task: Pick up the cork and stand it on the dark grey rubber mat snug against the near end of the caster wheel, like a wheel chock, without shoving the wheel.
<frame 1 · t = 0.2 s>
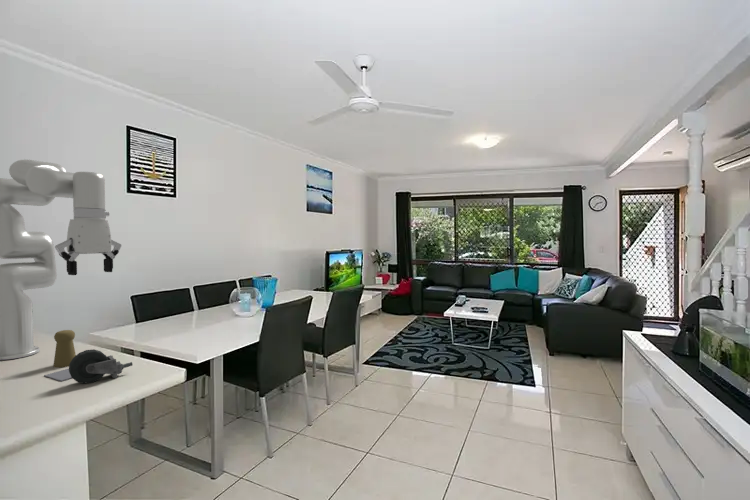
hand: (90, 273, 114), 31 cm above the kitchen counter, tool pointing down, fingers open, 9 cm apart
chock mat: (73, 372, 118), on the kitchen counter
cork: (65, 365, 125), on the kitchen counter
caster wheel: (102, 379, 114), on the kitchen counter
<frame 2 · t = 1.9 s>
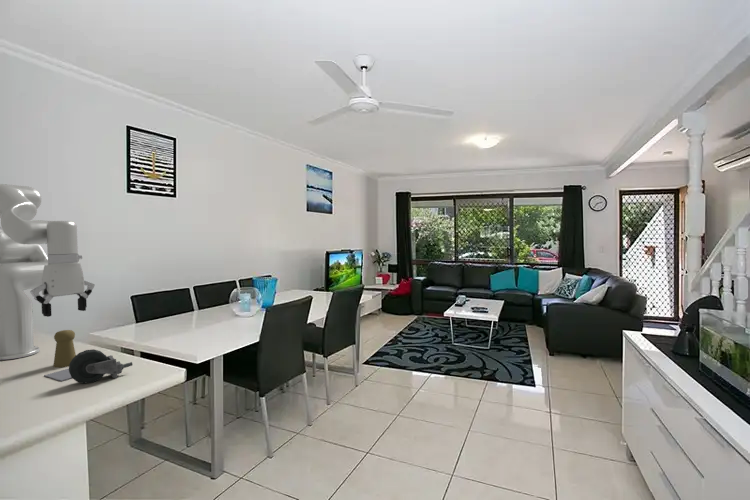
hand: (65, 313, 124), 17 cm above the kitchen counter, tool pointing down, fingers open, 9 cm apart
nothing on the kitchen counter moved.
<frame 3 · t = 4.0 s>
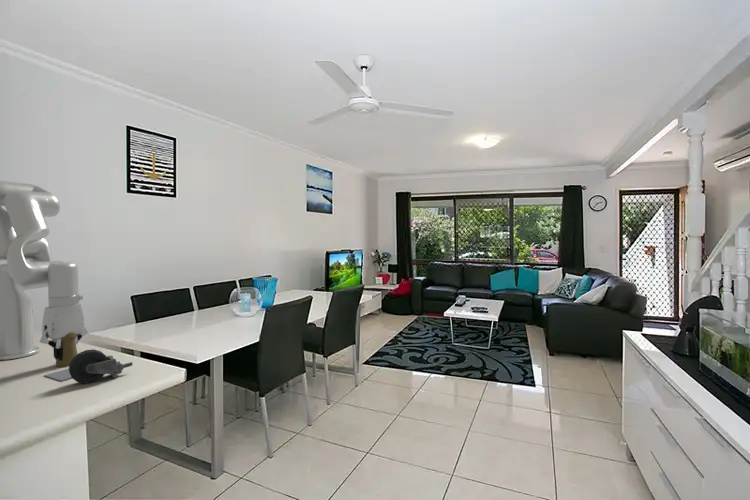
hand: (65, 357, 125), 2 cm above the kitchen counter, tool pointing down, fingers closed on cork, 2 cm apart
cork: (67, 364, 126), on the kitchen counter, touching gripper
everything else where it was.
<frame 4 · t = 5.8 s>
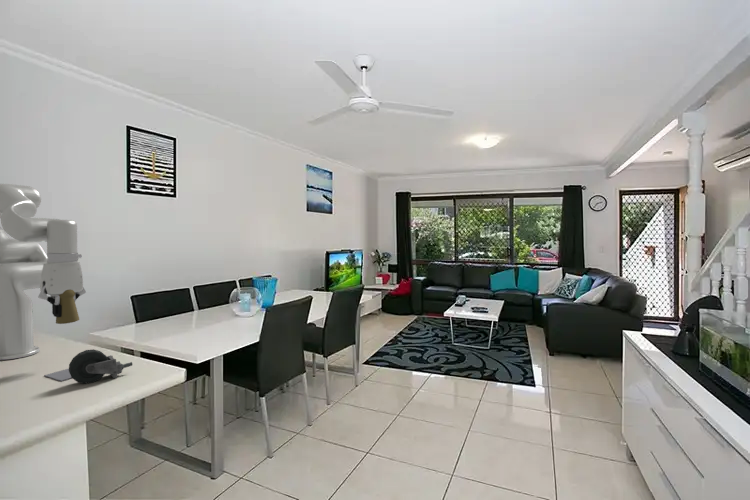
hand: (63, 315, 125), 16 cm above the kitchen counter, tool pointing down, fingers closed on cork, 2 cm apart
cork: (67, 321, 126), point 14 cm above the kitchen counter, touching gripper
everything else where it was.
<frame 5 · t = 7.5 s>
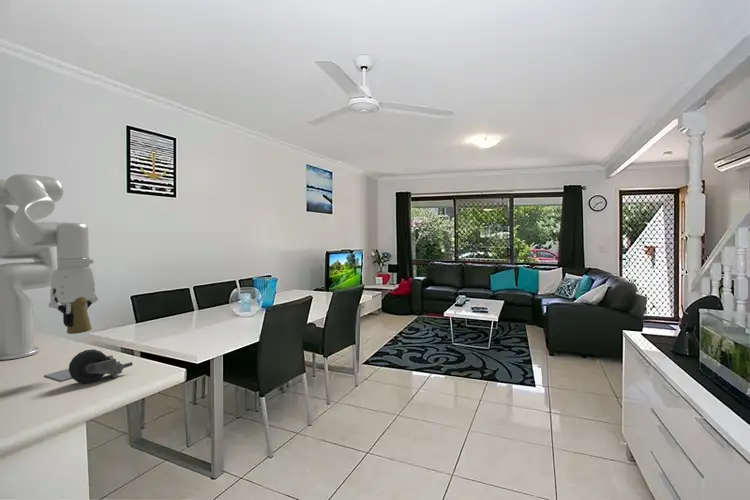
hand: (74, 324, 117), 15 cm above the kitchen counter, tool pointing down, fingers closed on cork, 2 cm apart
cork: (79, 331, 118), point 13 cm above the kitchen counter, touching gripper
everything else where it was.
when the fingers open (4 cm above the kitchen counter, at t = 9.9 s): cork drops 2 cm, resting on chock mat.
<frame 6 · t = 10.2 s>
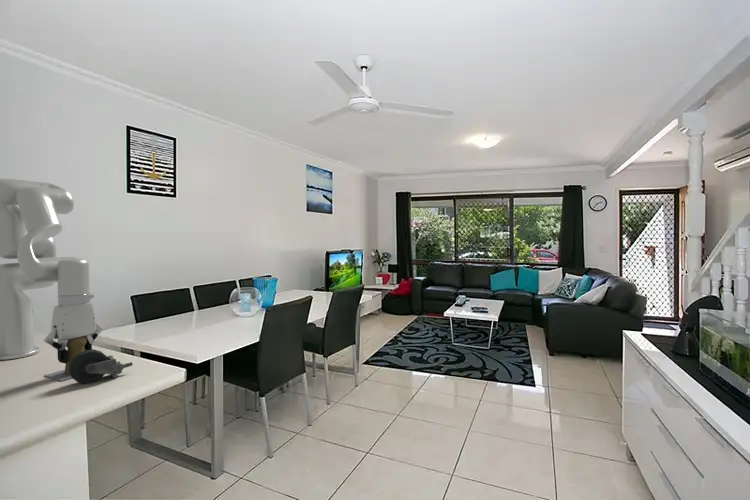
hand: (75, 358, 117), 4 cm above the kitchen counter, tool pointing down, fingers open, 5 cm apart
cork: (76, 372, 118), resting on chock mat, touching gripper
everything else where it was.
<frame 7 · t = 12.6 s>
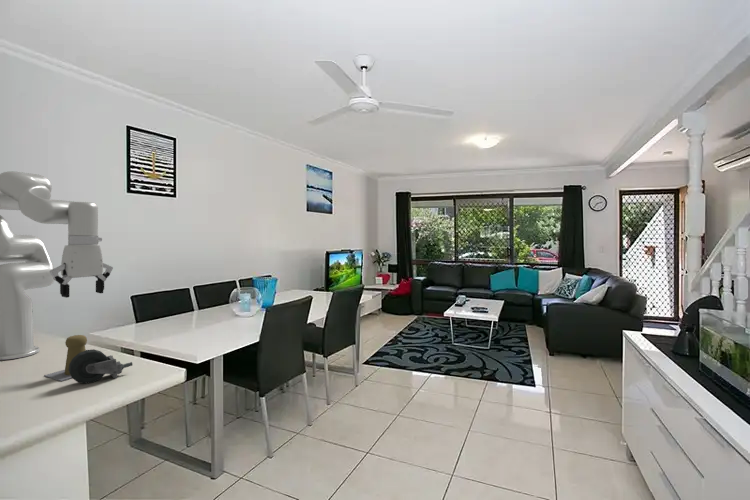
hand: (83, 294, 124), 23 cm above the kitchen counter, tool pointing down, fingers open, 9 cm apart
cork: (76, 372, 118), resting on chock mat
everything else where it was.
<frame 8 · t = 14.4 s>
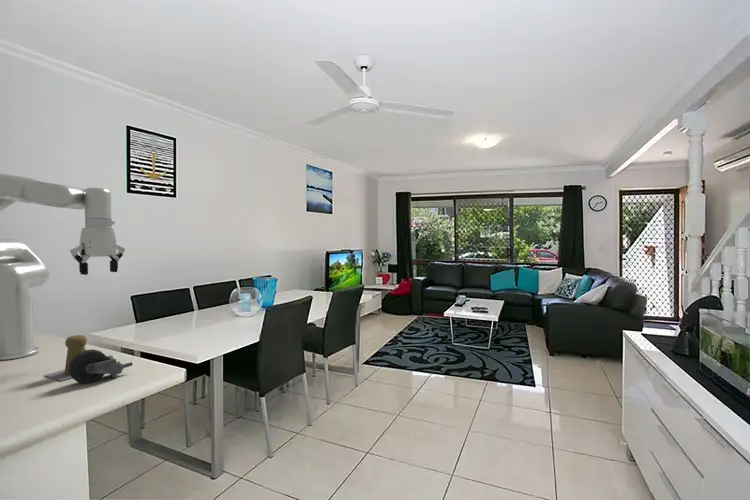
hand: (99, 273, 136), 28 cm above the kitchen counter, tool pointing down, fingers open, 9 cm apart
nothing on the kitchen counter moved.
at the end: cork inside the target area (0.9 cm from its centre), resting on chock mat; cork tilted 0°; caster wheel moved 0.3 cm from its start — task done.
